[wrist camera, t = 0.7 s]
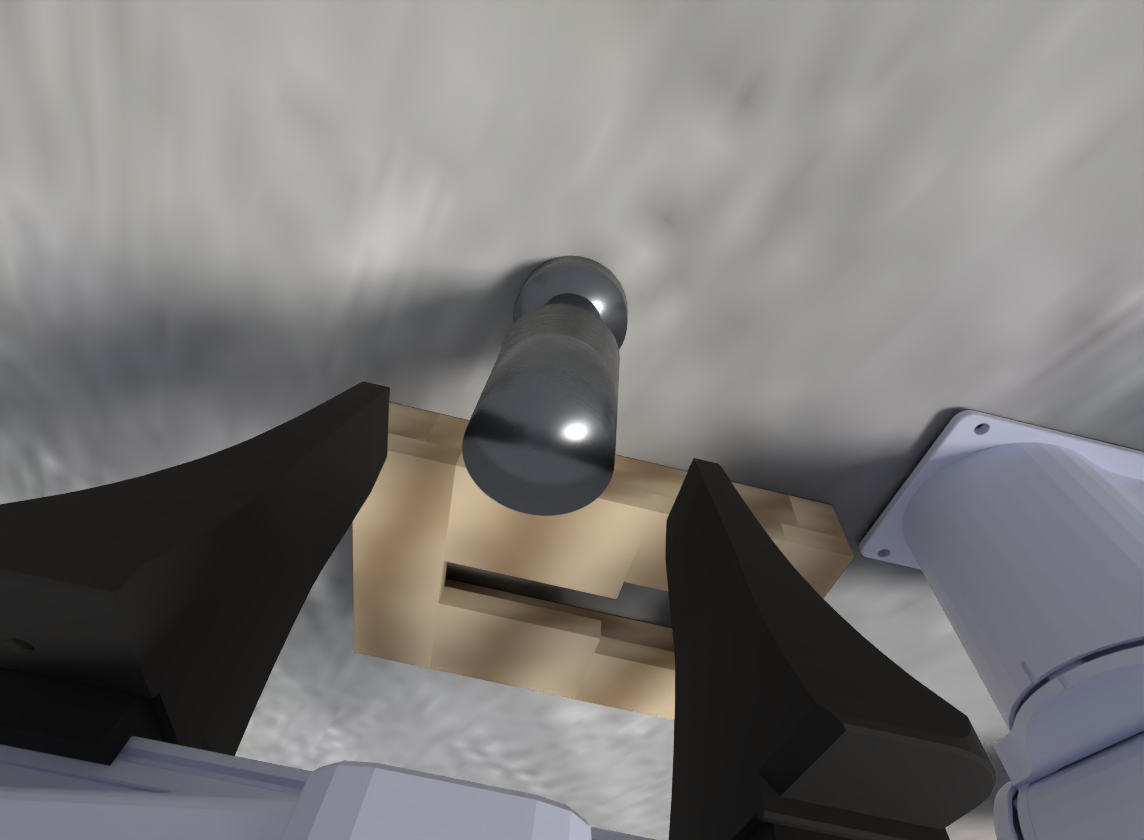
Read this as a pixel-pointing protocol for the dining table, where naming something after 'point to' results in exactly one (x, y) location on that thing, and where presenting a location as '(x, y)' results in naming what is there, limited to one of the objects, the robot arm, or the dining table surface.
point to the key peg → (552, 393)
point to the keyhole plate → (538, 571)
